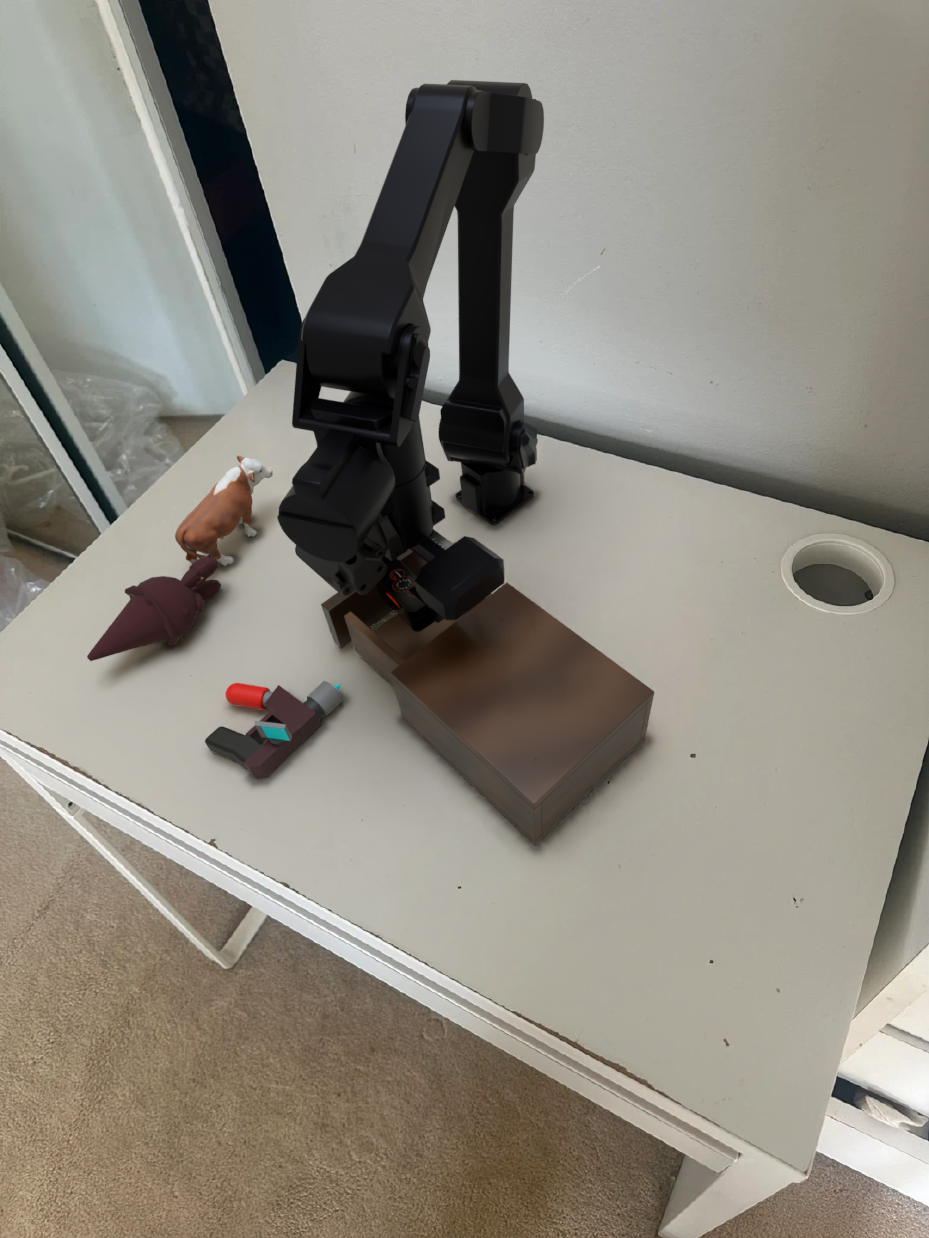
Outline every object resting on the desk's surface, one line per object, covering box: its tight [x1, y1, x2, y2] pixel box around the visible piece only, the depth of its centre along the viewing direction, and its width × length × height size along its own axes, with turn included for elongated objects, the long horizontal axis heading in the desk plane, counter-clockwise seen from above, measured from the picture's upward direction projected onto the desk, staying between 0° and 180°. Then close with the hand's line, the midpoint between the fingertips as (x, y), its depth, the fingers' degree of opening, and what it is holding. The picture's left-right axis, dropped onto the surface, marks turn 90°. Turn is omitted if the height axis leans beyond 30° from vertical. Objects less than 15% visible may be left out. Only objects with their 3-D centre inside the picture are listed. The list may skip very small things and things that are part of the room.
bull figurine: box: [174, 455, 274, 567], centre depth 84 cm, size 4×13×8 cm, turn 148°
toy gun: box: [204, 680, 344, 779], centre depth 71 cm, size 10×12×5 cm
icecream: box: [86, 557, 222, 662], centre depth 77 cm, size 7×7×15 cm
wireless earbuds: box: [376, 559, 435, 632], centre depth 70 cm, size 5×7×3 cm, turn 38°
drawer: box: [320, 549, 492, 687], centre depth 74 cm, size 20×12×6 cm, turn 43°
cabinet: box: [390, 582, 655, 846], centre depth 67 cm, size 17×14×8 cm
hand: (414, 597), depth 71 cm, fingers closed on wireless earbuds, 7 cm apart
